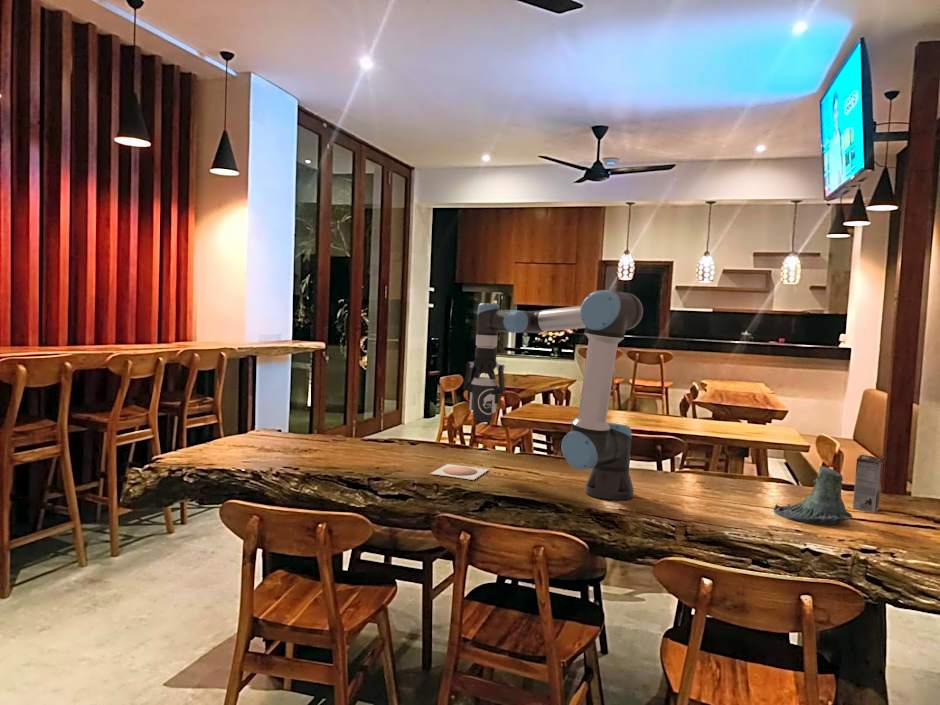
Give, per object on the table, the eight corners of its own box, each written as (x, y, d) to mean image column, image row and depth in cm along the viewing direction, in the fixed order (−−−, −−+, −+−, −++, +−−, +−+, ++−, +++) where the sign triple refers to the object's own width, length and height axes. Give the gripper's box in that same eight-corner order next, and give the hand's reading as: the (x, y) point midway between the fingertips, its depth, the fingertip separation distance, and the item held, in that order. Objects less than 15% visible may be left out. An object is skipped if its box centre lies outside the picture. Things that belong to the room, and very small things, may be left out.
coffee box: (856, 503, 207) (860, 454, 206) (879, 507, 203) (884, 457, 202) (851, 509, 200) (855, 458, 199) (875, 513, 196) (880, 462, 195)
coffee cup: (497, 419, 230) (499, 377, 229) (494, 423, 220) (497, 380, 219) (470, 417, 231) (473, 376, 230) (467, 421, 221) (469, 378, 220)
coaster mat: (488, 471, 228) (488, 468, 228) (473, 481, 213) (473, 478, 213) (447, 465, 234) (447, 463, 234) (429, 475, 219) (429, 472, 219)
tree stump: (786, 504, 204) (805, 453, 200) (852, 536, 190) (874, 482, 186) (762, 511, 191) (783, 457, 187) (832, 546, 177) (855, 488, 173)
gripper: (517, 348, 224) (513, 413, 225) (463, 344, 231) (460, 406, 233) (510, 349, 217) (506, 415, 218) (455, 345, 224) (451, 409, 226)
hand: (482, 411), depth 225 cm, fingers closed on coffee cup, 8 cm apart
